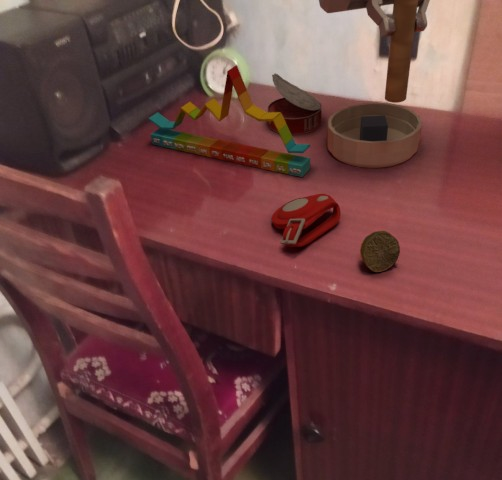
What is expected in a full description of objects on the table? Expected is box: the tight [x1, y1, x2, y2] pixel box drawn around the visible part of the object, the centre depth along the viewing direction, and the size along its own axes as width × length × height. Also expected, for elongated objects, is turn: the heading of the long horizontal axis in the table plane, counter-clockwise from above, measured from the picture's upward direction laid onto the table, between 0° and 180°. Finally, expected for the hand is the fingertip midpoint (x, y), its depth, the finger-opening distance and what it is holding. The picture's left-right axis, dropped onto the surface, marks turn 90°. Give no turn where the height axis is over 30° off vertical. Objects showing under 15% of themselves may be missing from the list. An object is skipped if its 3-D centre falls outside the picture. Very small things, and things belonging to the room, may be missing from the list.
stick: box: [384, 0, 418, 104], centre depth 78 cm, size 3×3×16 cm
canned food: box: [267, 73, 323, 136], centre depth 107 cm, size 11×10×10 cm
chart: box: [148, 64, 311, 178], centre depth 96 cm, size 30×3×15 cm, turn 60°
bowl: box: [326, 102, 423, 169], centre depth 98 cm, size 15×15×4 cm
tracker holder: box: [271, 193, 341, 248], centre depth 82 cm, size 12×4×10 cm
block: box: [360, 115, 388, 141], centre depth 98 cm, size 4×4×4 cm
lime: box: [359, 230, 401, 273], centre depth 75 cm, size 4×5×5 cm
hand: (404, 32), depth 77 cm, fingers closed on stick, 3 cm apart
